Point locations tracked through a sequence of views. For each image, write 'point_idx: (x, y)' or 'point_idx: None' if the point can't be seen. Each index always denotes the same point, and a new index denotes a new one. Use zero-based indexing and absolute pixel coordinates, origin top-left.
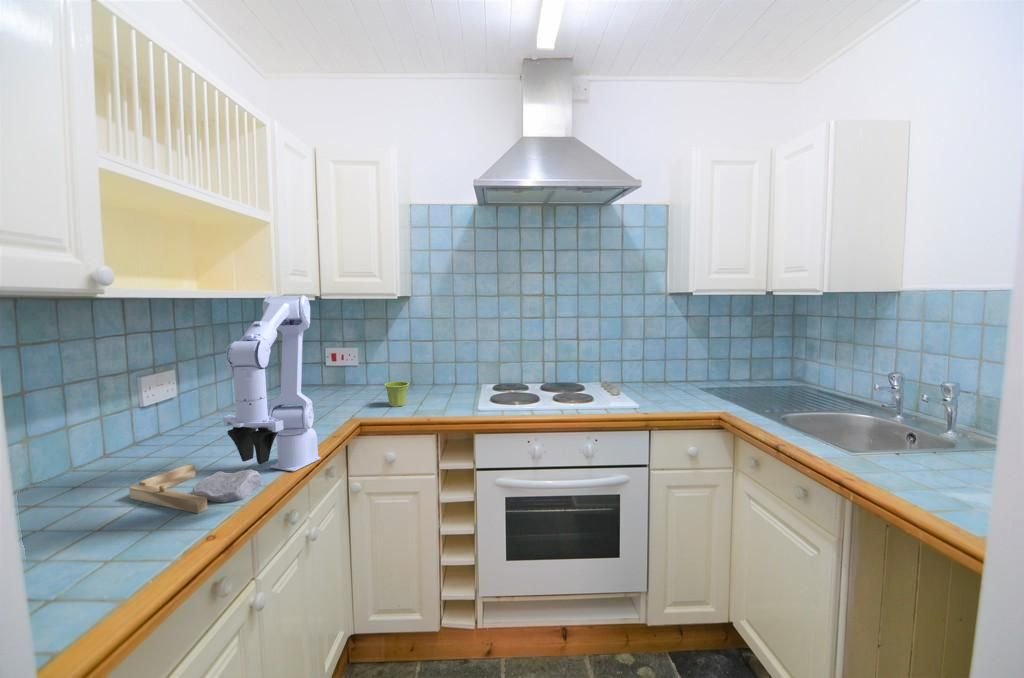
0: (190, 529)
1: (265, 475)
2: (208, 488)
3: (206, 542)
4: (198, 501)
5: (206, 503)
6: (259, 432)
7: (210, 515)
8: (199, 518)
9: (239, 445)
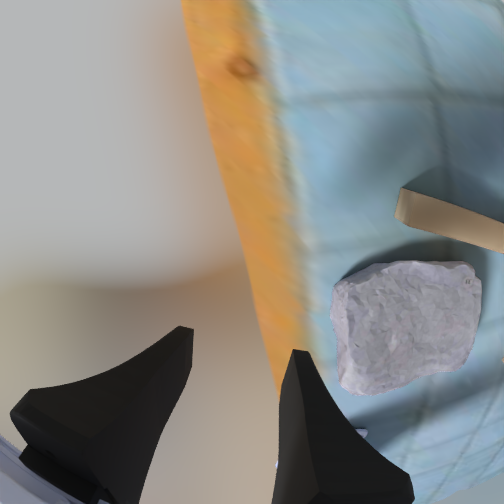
0: (345, 97)
1: (358, 404)
2: (442, 288)
3: (235, 48)
4: (414, 197)
5: (401, 219)
6: (39, 444)
7: (356, 180)
8: (374, 160)
9: (306, 413)
